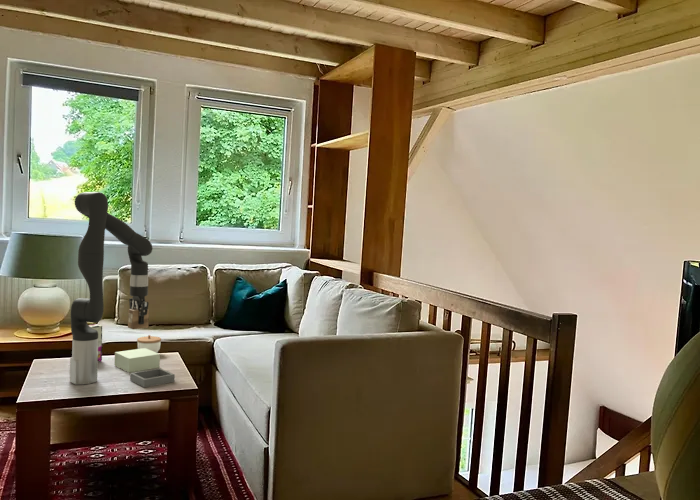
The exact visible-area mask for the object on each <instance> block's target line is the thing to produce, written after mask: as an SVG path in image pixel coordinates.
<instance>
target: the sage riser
mask: <svg viewBox="0 0 700 500" xmlns="http://www.w3.org/2000/svg"><path fill="white" fill-rule="evenodd" d="M160 359H161V355H160V353H159V352H157V353H156V352H154V351H151V350H149V349H146V348H142V349H138V348H135V349H128V350H122V351H115V352H114V365H115V366H114V367H116V366H117V367H116V368H119V369H120V368H121V369H120V370H122V369H123V371H124V370H125V372H126V371H127V372H126V373H128V372H129V373H134V372H140V371H146V370H152V369H158V368H161V367H160V363H161V361H160Z"/></svg>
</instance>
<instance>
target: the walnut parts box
mask: <svg viewBox="0 0 700 500" xmlns="http://www.w3.org/2000/svg"><path fill="white" fill-rule="evenodd" d="M140 309H141V308H140ZM140 312H141V311H140ZM149 314H150V310H149V309H148V311H147V315H145V316H144V324H141V325H140V324H138V319H139V315H138V311H137V309H130V308H129V309H128V310H127V328H129V329H132V330H139V329H140V330H141V329H147V328H149V317H150V315H149Z"/></svg>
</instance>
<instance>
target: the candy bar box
mask: <svg viewBox="0 0 700 500" xmlns="http://www.w3.org/2000/svg"><path fill="white" fill-rule="evenodd" d="M88 325H89V326H90V327H91V328H93V329H95V330H97V331H98V362H102V361H103V325H102V324H98V323H97V324H96V323H95V324H88Z"/></svg>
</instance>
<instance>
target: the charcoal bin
mask: <svg viewBox="0 0 700 500" xmlns="http://www.w3.org/2000/svg"><path fill="white" fill-rule="evenodd" d="M129 373H130V374H129V381H131V382H133V383H135V384H136V385H139V387H142V388H149V387H153V386H158V385H165V384H168V383H174V382H175V373H172V372H170V371H169V370H166V369H163V368H162V367H159V368H153V369H147V370H141V371H135V372H129Z"/></svg>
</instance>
